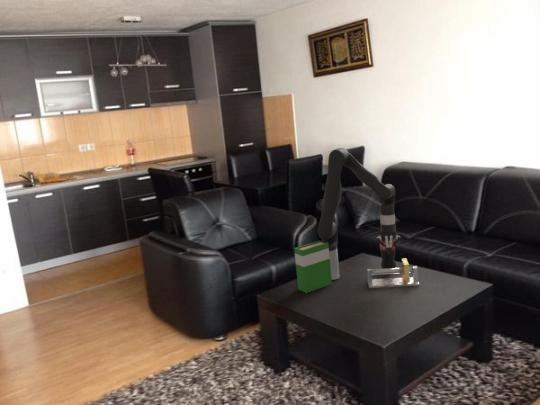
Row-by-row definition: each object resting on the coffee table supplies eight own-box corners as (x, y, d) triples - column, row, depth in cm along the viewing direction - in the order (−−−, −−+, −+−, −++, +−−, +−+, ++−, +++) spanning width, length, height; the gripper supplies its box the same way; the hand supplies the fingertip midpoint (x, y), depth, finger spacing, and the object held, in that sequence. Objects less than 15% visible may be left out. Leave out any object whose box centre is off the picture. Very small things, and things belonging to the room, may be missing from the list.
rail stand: (369, 288, 270) (368, 272, 268) (367, 281, 279) (366, 266, 278) (419, 285, 266) (418, 270, 264) (416, 278, 276) (415, 263, 274)
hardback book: (323, 280, 287) (319, 240, 282) (331, 284, 281) (328, 242, 276) (298, 289, 278) (294, 248, 273) (306, 293, 272) (302, 250, 267)
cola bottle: (378, 269, 295) (375, 220, 289) (391, 266, 297) (388, 217, 291) (386, 274, 287) (383, 223, 281) (399, 271, 289) (396, 220, 283)
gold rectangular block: (405, 282, 267) (404, 264, 265) (402, 275, 276) (401, 258, 274) (409, 282, 266) (408, 264, 264) (407, 275, 276) (406, 258, 274)
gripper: (375, 224, 263) (377, 256, 267) (401, 223, 261) (402, 255, 265) (374, 221, 270) (375, 252, 274) (399, 219, 268) (400, 250, 272)
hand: (389, 253), depth 269 cm, fingers closed
